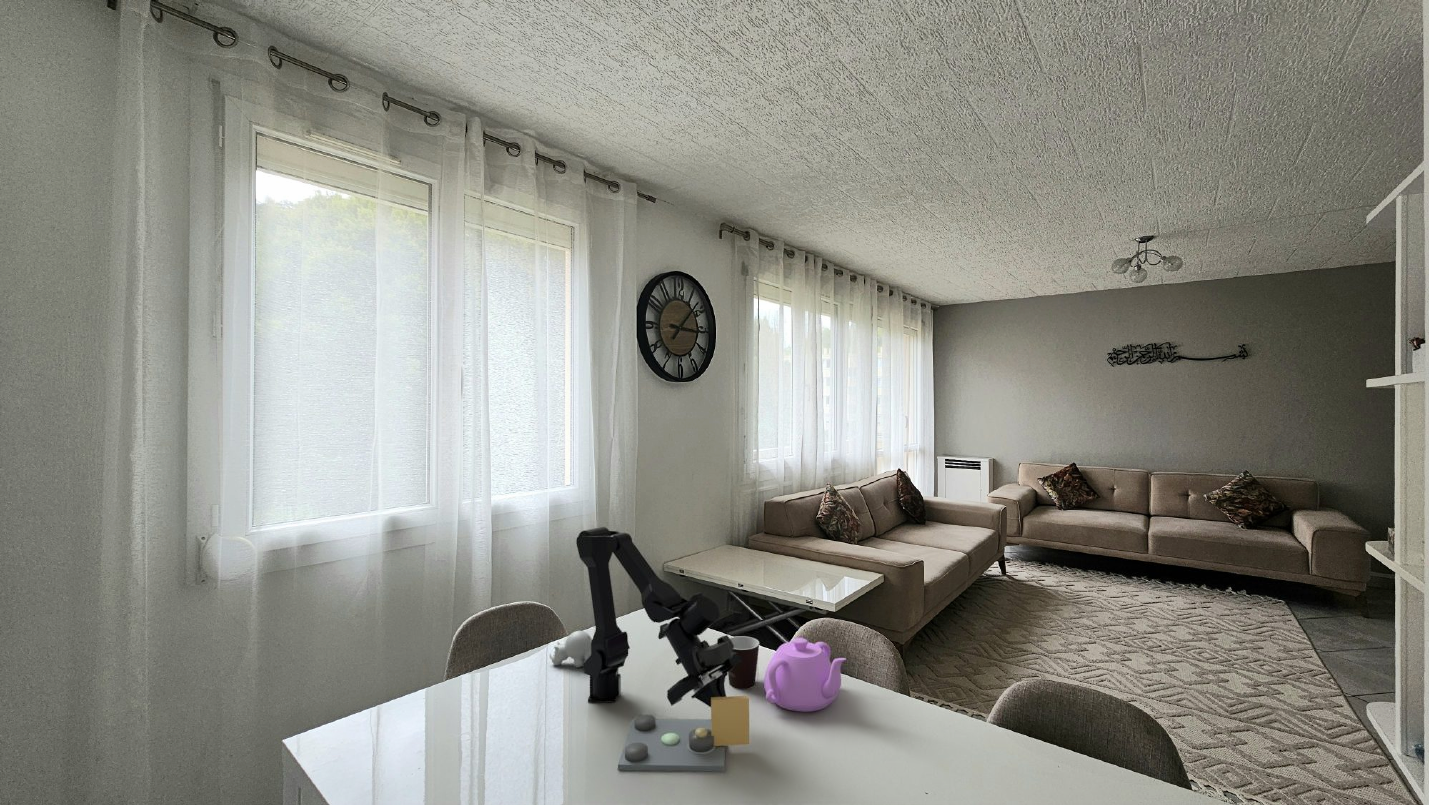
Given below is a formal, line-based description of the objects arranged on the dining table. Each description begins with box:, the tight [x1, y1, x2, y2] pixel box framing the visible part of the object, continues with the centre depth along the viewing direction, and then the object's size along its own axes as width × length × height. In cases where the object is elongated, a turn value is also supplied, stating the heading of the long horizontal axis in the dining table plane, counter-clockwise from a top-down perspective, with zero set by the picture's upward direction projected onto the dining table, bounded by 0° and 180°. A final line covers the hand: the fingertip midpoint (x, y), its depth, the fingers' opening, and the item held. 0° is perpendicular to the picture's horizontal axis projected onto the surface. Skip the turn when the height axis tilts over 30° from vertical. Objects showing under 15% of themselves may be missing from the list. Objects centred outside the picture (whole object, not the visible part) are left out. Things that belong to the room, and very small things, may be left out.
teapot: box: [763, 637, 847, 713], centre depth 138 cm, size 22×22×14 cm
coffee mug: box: [727, 635, 760, 690], centre depth 150 cm, size 12×9×10 cm
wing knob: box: [689, 695, 750, 752], centre depth 119 cm, size 12×5×9 cm, turn 95°
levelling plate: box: [617, 713, 726, 772], centre depth 121 cm, size 20×17×2 cm
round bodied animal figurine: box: [549, 630, 593, 669], centre depth 160 cm, size 7×12×8 cm, turn 89°
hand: (727, 716), depth 120 cm, fingers closed
